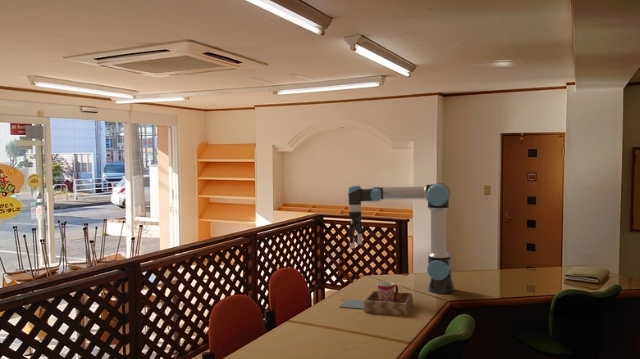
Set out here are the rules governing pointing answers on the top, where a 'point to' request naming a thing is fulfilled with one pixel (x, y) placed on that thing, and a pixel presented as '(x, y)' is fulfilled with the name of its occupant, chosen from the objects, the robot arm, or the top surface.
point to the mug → (387, 291)
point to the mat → (353, 304)
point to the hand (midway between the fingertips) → (356, 246)
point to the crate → (389, 304)
